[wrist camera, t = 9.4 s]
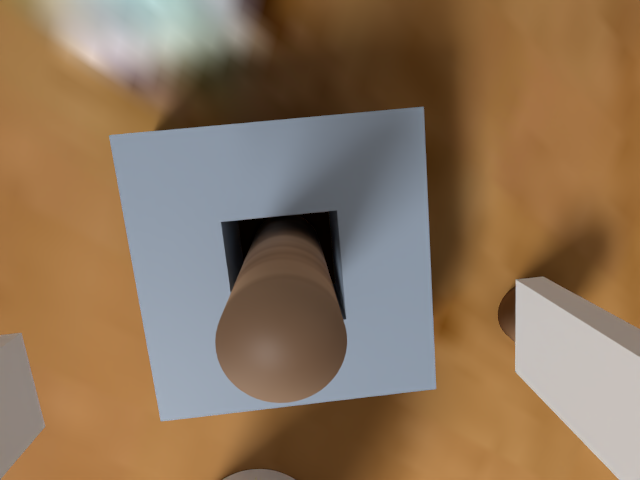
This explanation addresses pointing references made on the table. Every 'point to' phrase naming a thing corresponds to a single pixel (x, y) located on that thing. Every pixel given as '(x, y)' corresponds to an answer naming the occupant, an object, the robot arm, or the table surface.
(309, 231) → the long dowel
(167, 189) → the socket block
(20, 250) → the table surface
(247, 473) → the cup
